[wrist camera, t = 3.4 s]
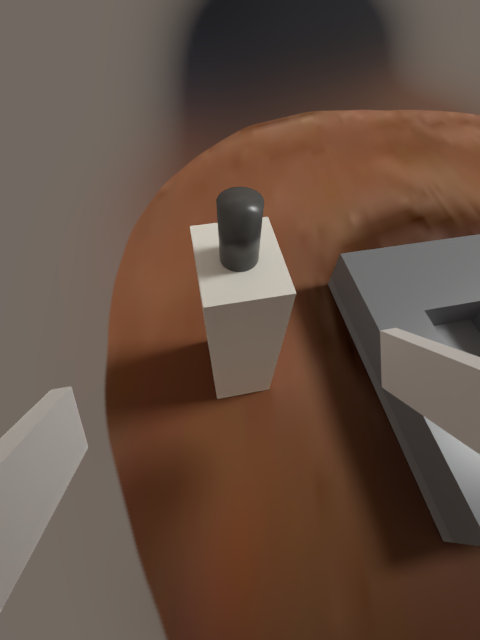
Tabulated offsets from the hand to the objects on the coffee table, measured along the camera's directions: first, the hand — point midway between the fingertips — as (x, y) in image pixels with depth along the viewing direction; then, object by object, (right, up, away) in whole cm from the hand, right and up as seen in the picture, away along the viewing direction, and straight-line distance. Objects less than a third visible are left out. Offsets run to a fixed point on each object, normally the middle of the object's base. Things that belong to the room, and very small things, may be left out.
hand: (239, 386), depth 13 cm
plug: (0, -1, +11) cm, 11 cm away
